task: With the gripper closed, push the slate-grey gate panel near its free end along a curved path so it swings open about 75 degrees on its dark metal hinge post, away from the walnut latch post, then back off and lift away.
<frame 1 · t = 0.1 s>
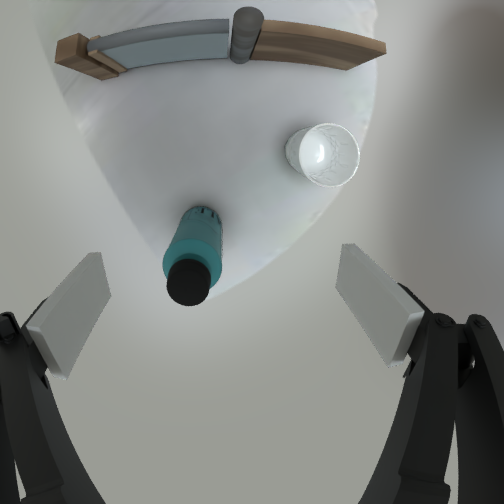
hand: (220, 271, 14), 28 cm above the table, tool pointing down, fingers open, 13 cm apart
gate frame: (172, 58, 31), on the table
white cup: (306, 150, 39), on the table
gate panel: (163, 44, 25), point 7 cm above the table, hinge at 0.0°
beverage bottle: (202, 222, 42), on the table
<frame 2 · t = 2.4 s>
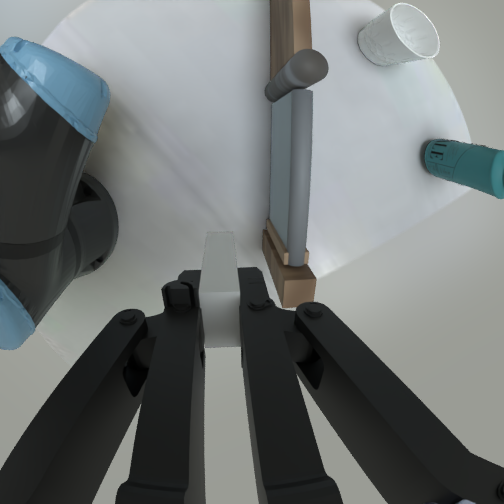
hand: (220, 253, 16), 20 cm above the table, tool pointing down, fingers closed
gate frame: (275, 167, 34), on the table
white cup: (376, 46, 27), on the table
gate panel: (287, 172, 28), point 7 cm above the table, hinge at 0.0°
beverage bottle: (430, 156, 35), on the table
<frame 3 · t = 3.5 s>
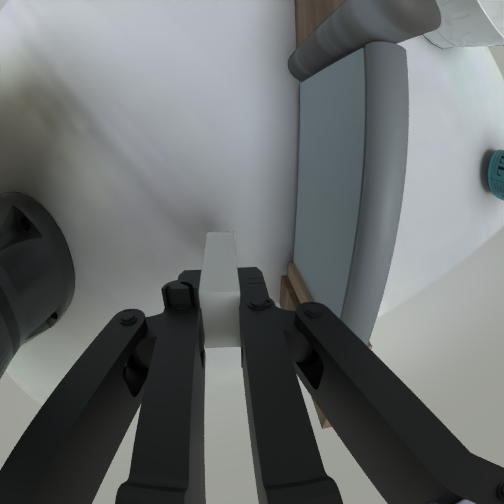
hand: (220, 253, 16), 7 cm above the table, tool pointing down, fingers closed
gate frame: (304, 182, 22), on the table
white cup: (431, 22, 15), on the table
gate panel: (336, 200, 15), point 7 cm above the table, hinge at 0.0°
beverage bottle: (489, 170, 23), on the table
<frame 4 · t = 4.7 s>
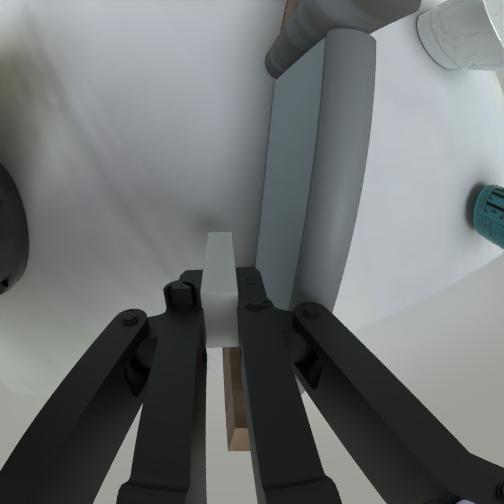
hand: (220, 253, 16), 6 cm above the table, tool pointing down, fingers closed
gate frame: (261, 186, 20), on the table
white cup: (438, 40, 15), on the table
gate panel: (294, 210, 14), point 7 cm above the table, hinge at 4.9°, touching gripper
beverage bottle: (477, 204, 23), on the table
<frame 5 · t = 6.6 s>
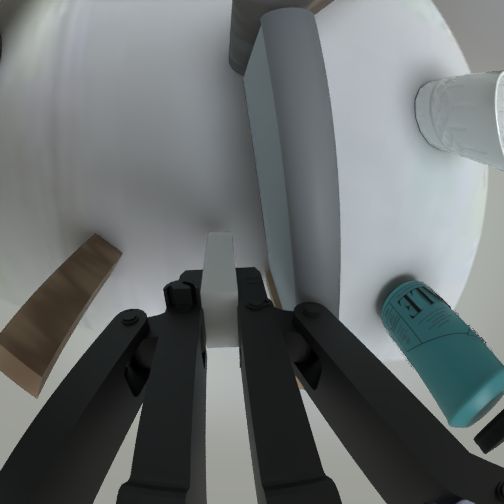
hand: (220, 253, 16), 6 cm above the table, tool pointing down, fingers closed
gate frame: (162, 159, 19), on the table
white cup: (437, 115, 19), on the table
gate panel: (287, 204, 14), point 7 cm above the table, hinge at 48.4°, touching gripper
beverage bottle: (396, 296, 26), on the table
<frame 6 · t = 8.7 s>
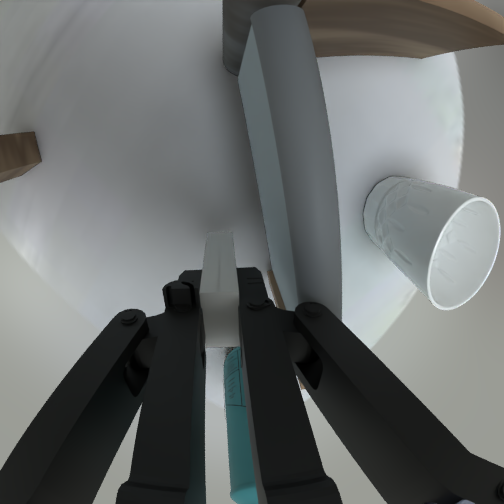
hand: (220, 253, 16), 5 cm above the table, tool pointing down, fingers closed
gate frame: (116, 101, 16), on the table
white cup: (392, 211, 22), on the table
gate panel: (286, 203, 14), point 7 cm above the table, hinge at 85.5°, touching gripper
beverage bottle: (253, 351, 27), on the table
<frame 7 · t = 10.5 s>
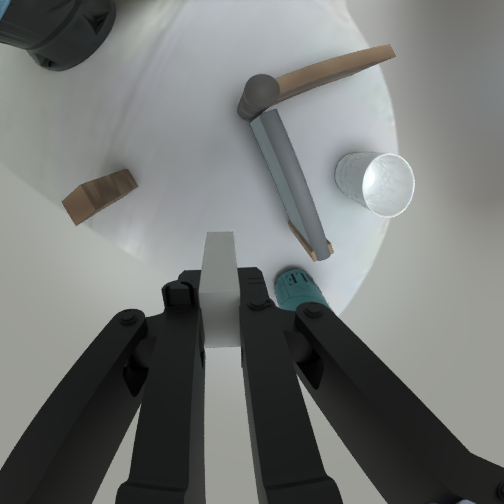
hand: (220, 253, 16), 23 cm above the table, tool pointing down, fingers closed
gate frame: (183, 145, 34), on the table
white cup: (354, 174, 38), on the table
gate panel: (287, 181, 30), point 7 cm above the table, hinge at 85.5°
beverage bottle: (291, 280, 43), on the table
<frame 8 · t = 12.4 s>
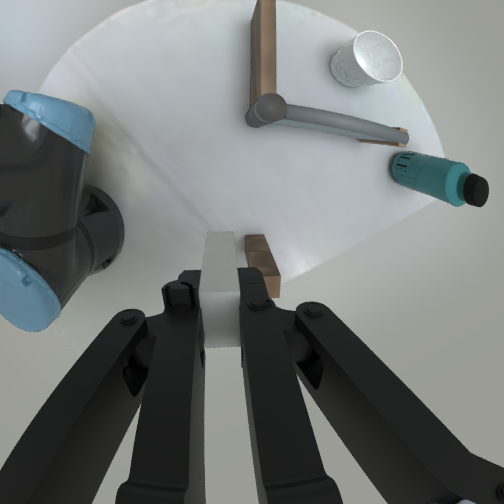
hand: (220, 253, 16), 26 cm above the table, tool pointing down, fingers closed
gate frame: (255, 182, 41), on the table
white cup: (348, 69, 34), on the table
gate panel: (336, 125, 32), point 7 cm above the table, hinge at 85.5°
beverage bottle: (399, 167, 42), on the table
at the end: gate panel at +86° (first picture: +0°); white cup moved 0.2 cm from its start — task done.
